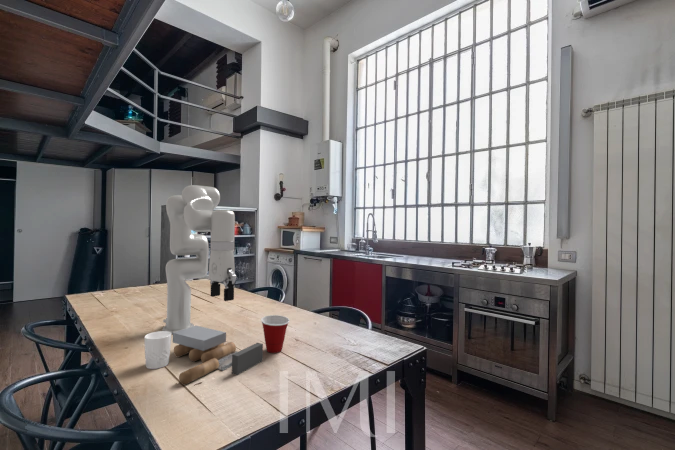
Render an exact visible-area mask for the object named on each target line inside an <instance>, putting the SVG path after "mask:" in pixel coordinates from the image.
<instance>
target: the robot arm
mask: <svg viewBox="0 0 675 450" xmlns="http://www.w3.org/2000/svg"><path fill="white" fill-rule="evenodd" d="M220 201H221V194H220V191H219V190H218V189H217V188H216V187H215V186H214V187H213V186H206V185H196V184H192V185H187V186H185V187H184V188H183V189H182V190H181V194H177V195H176V194H175V195H171V196H169V197H168V198H167V199H166V203H165V209H166V214H167V218H168V221H169V225H170V227H169V229H170V230H169V233H170V234H169V250H170V253H171V254H172V255H173V256H196V257H182V258H180V257H179V258H174V259H169V260H168V261H167V262H166V265H165V275H166V285H167V286H166V288H167V293H166V295H167V296H166V317H165V319H163V320H162V322H163V323H164V324H165V326H163V327H162V331H168V332H171V335H173V333H174V332H177V331H180V330H183V329H187V328H190V327H193V326H195V325H194V324H193V323H192V322H191V314H192V313H191V308H192V306H191V304H192V289H191V287H190V285H189V284H188V283H187V282H186V281H187V280H193V279H204V278H205V277H206V276H207V274H208V279H209V280H210V282H209V283H210V297H218V296H221V283H223V285H224V288H223V301H224V302H229V301H234V299H235V288H236V287H235V285H236V283H237V281H236V280H237V275H236V272H235V269H236V267H235V266H236V265H235V254H234V252H235V234H236V233H235V231H236V229H235V227H236V226H235V224H236V223H235V221H236V217H235V216H236V215H235V212H234V211H233V210H227V209H226V210H225V209H224V210H223V209H217V210H215V209H216V208H217V207H218V205H219V203H220ZM192 231H193V232H199V233H198V234H197V233H194V234H193V233H192ZM200 232H201V234H200ZM203 232H204V233H205V232H208V233H209V232H210V245H209V241H208V238H207V236H205V234H202V233H203ZM209 246H210V255H209Z"/></svg>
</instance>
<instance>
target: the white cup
mask: <svg viewBox="0 0 675 450" xmlns="http://www.w3.org/2000/svg"><path fill="white" fill-rule="evenodd" d="M171 345H172V334H171V332H168V331H163V330H160V331H158V330H157V331H152V332H149V333H147V334H146V335H144V358H145V367H146V368H147V369H149V370H156V369H161V368H164V367H166V366H168V365H169V363H170V355H171Z"/></svg>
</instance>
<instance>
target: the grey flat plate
mask: <svg viewBox="0 0 675 450" xmlns="http://www.w3.org/2000/svg"><path fill="white" fill-rule="evenodd" d="M237 352H238V351H237V350H236V351H235V352H233V353H230V354H228V355H226V356H224V357H222V358H220V359H217V360H218V361H219V368H218V369H217V370H219V371H225V370H226V369H229V368H230V367H231V368H232V354H234V353H237Z"/></svg>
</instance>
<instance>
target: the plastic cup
mask: <svg viewBox="0 0 675 450" xmlns="http://www.w3.org/2000/svg"><path fill="white" fill-rule="evenodd" d="M290 321H291V320H290V318H289V317H288V316H284V315H279V314H273V315H272V314H270V315H265V316H263V317H261V319H260V322H261V324H262V329H263V337H264V342H265V349H266V351H267V353H269V354H275V353H276V354H277V353H280V352H282V350H283V348H284V347H283V346H284V342H285V337H286V333H287V327H288V324H289V323H290Z"/></svg>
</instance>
